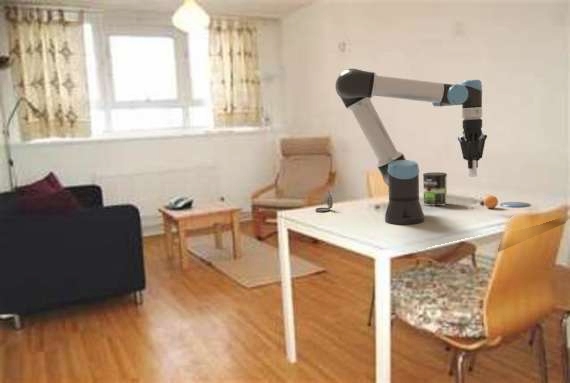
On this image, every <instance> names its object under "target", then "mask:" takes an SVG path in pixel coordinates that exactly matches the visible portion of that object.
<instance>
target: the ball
mask: <svg viewBox="0 0 570 383" xmlns="http://www.w3.org/2000/svg"><path fill="white" fill-rule="evenodd" d="M498 199H499V198H497V197H496V196H495V195H491V194H490V195H487V196H486V197H485V198H484V200H483V203H484V206H485V207H486V208H487V209H494V208H496V207H497V206H498V204H499V200H498Z"/></svg>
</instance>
